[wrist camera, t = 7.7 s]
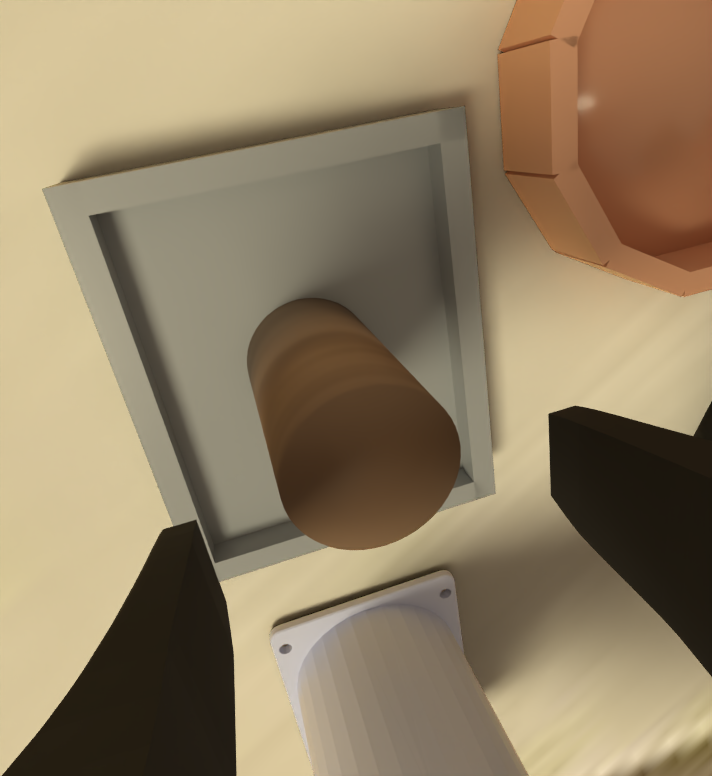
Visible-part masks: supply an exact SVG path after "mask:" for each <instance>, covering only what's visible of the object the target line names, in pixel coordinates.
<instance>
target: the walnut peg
mask: <svg viewBox="0 0 712 776" xmlns="http://www.w3.org/2000/svg"><path fill="white" fill-rule="evenodd" d="M247 369H248V375H249V379H250V383H251V386H252V390H253V394H254V398H255V402H256V406H257V410H258V413H259V417H260V421H261V425H262V429H263V433H264V437H265V441H266V444H267V448H268V452H269V456H270V460H271V464H272V468H273V472H274V475H275V479H276V483H277V487H278V491H279V495H280V499H281V501H282V504H283V507H284V510H285V511H286V513H287V515H288V517H289V518H290V520H291V521H292V522H293V524H294V525H295V526H296V527H297V528H298V529H299V530H300V531H301V532H302V533H303V534H305V535H306V536H308V537H309V538H311V539H312V540H314V541H316V542H318V543H320V544H323V545H326V546H329V547H333V548H338V549H345V550H365V549H372V548H377V547H381V546H385V545H388V544H390V543H393V542H396V541H398V540H400V539H402V538H404V537H406V536H408V535H410V534H411V533H413V532H414V531H416V530H417V529H419V528H420V527H421V526H423V525H424V524H425V523H426V522H427V521H429V520H430V519H431V518H432V517H433V516H434V515H435V514H436V512H437V511H438V510H439V509H440V508H441V507H442V505H443V504H444V502H445V501H446V499H447V498H448V496H449V494H450V492H451V491H452V489H453V486H454V484H455V481H456V479H457V476H458V472H459V468H460V460H461V446H460V440H459V435H458V432H457V429H456V426H455V424H454V422H453V420H452V418H451V417H450V415H449V414H448V413H447V411H446V410H445V409H444V408H443V407H442V406H441V405H440V404H439V403H438V401H437V400H436V399H435V398H434V397H433V396H432V395H431V394H430V393H429V392H428V391H427V390H426V389H425V388H424V387H423V386H422V385H421V384H420V383H419V382H418V381H417V379H416V378H415V377H414V376H413V375H412V374H411V373H410V372H409V371H408V370H407V369H406V368H405V367H404V366H403V365H402V364H401V363H400V362H399V361H398V360H397V358H396V357H395V356H394V355H393V354H392V353H391V352H390V351H389V350H388V349H387V348H386V347H385V346H384V345H383V344H382V343H381V342H380V341H379V340H378V339H377V338H376V336H375V335H374V334H373V333H372V332H371V331H370V330H369V329H368V328H367V327H366V326H365V325H364V324H363V323H362V322H361V321H360V320H359V319H358V318H357V317H356V316H355V315H354V314H353V313H352V312H351V311H350V310H349V309H347V308H346V307H344V306H342V305H341V304H339V303H336V302H334V301H331V300H327V299H322V298H304V299H298V300H294V301H291V302H288V303H286V304H284V305H282V306H280V307H278V308H277V309H275V310H274V311H272V312H271V313H270V314H269V315H267V316H266V317H265V318H264V320H263V321H262V322H261V323H260V324H259V326H258V327H257V328H256V330H255V332H254V334H253V336H252V338H251V341H250V343H249V347H248V352H247Z"/></svg>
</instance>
